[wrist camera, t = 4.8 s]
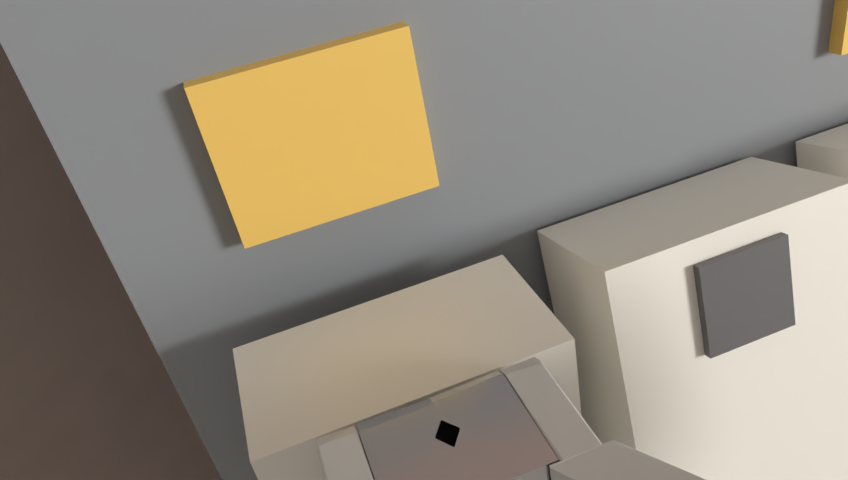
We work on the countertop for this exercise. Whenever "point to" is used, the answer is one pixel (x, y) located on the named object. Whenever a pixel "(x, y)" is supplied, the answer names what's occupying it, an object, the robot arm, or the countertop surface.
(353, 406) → the rocker
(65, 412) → the countertop surface
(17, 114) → the countertop surface
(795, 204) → the rocker
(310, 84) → the switch unit
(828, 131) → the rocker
